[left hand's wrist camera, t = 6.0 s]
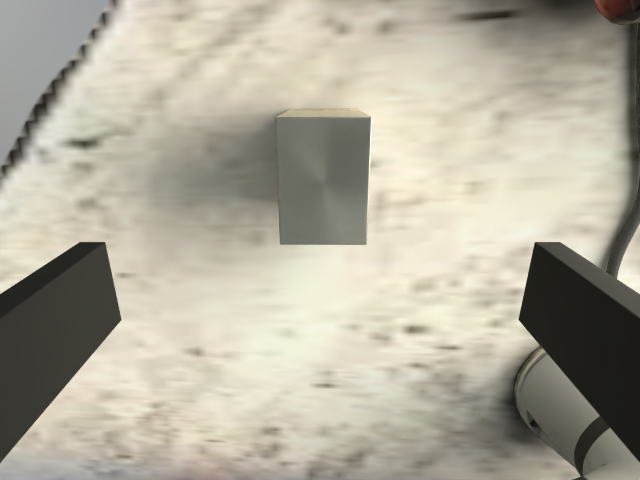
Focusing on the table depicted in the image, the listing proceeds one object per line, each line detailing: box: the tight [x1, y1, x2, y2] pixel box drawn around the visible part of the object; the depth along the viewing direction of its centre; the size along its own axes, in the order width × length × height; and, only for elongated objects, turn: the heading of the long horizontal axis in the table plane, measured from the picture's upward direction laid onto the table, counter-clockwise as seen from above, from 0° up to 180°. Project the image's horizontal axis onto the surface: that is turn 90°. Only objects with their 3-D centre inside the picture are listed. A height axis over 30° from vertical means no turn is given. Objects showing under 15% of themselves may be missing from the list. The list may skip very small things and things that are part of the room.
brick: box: [275, 109, 372, 245], centre depth 31 cm, size 9×6×11 cm
